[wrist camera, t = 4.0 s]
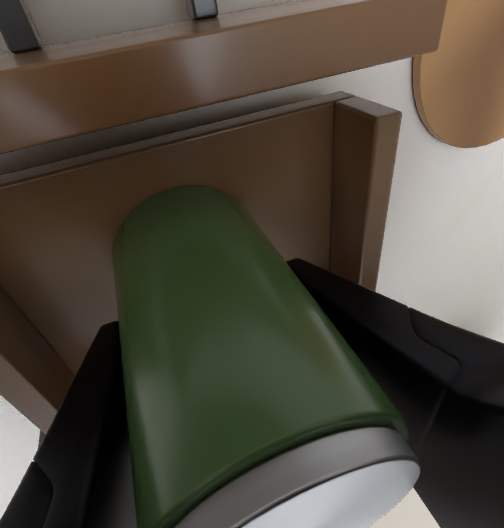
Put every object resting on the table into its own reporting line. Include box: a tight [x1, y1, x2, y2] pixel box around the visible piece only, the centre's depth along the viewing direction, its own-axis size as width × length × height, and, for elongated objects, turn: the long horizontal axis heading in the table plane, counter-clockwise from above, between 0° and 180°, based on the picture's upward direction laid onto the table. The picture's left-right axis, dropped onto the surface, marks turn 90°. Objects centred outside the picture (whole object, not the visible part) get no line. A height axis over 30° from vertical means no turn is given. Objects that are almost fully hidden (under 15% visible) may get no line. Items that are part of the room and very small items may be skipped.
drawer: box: [0, 0, 448, 434], centre depth 10 cm, size 18×13×3 cm
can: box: [112, 186, 421, 528], centre depth 8 cm, size 5×5×8 cm
